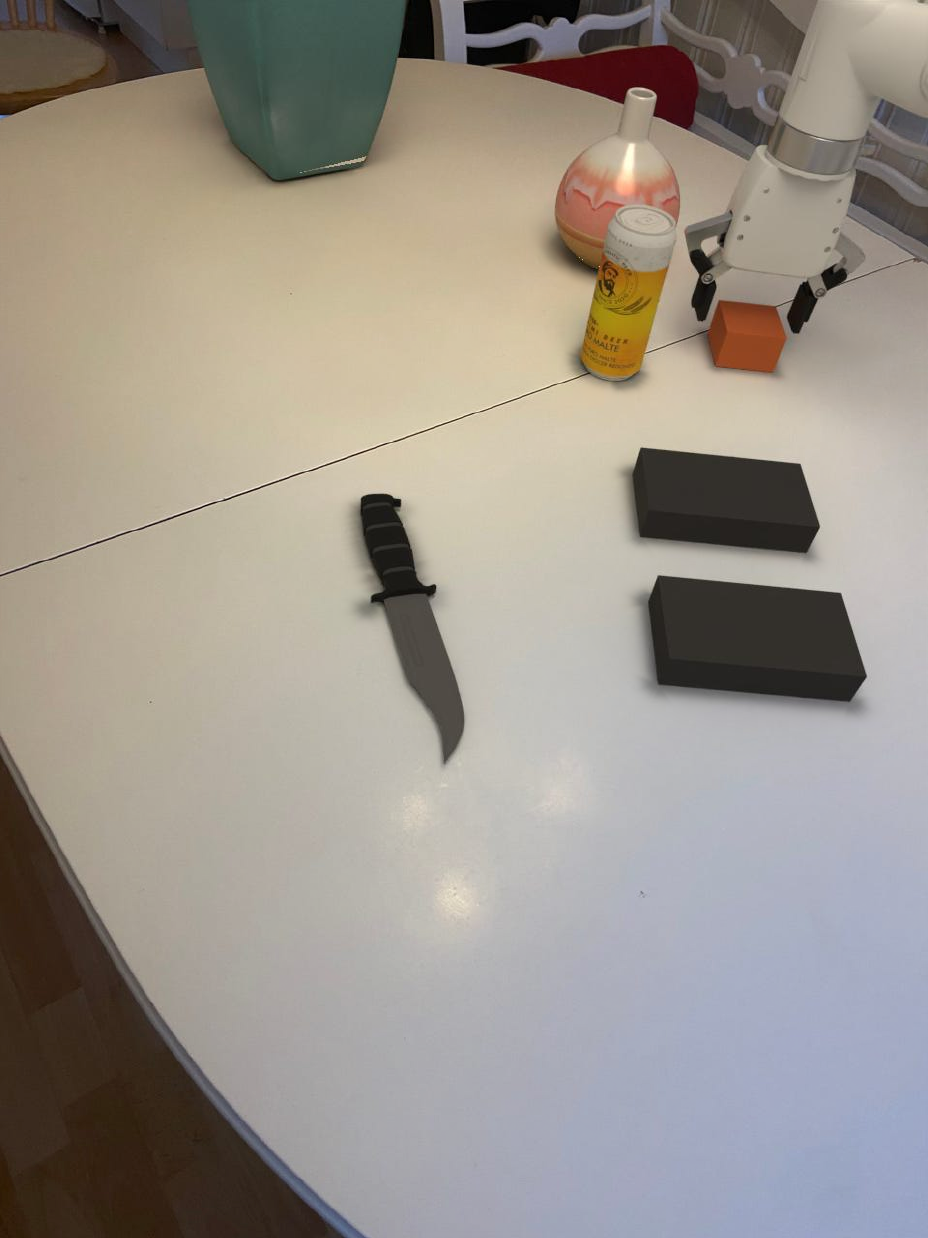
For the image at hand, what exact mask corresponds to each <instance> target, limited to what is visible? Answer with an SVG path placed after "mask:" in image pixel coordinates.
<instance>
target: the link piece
mask: <svg viewBox="0 0 928 1238" xmlns="http://www.w3.org/2000/svg"><path fill="white" fill-rule="evenodd" d="M707 338H708V341H709V347H710V350H711V354H712V358H713V362H714V366H715V367H717V368H728V369H737V370H746V371H756V372H764V373H765V372H766V373H774V371H775V369H776V366H777V364H778V361H779V358H780V356H781V355H782V351H783V348H784V346H785V345H786V344H785V343H786V342H787V339H788V337H787V335H786V332H785V329H784V326H783V323H782V320H781V317H780V314H779V311H778V308H777V306H775V305H771V304H770V305H769V304H760V303H750V302H741V301H733V300H726V299H725V300H723V299H718V302H717V303H716V307H715V310H714V313H713V316H712V319H711V322H710V325H709V329H708V331H707Z"/></svg>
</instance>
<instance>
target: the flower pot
mask: <svg viewBox="0 0 928 1238" xmlns="http://www.w3.org/2000/svg"><path fill="white" fill-rule="evenodd" d="M185 2H186V9H187V12H188V16H189V20H190V21H189V22H190V25H191V28H192V32H193V36H194V40H195V44H196V47H197V50H198V55H199V58H200V61H201V64H202V67H203V71H204V73H205V76H206V79H207V82H208V85H209V89H210V91H211V94H212V96H213V99H214V102H215V104H216V107H217V110H218V112H219V115H220V118H221V120H222V122H223V125H224V127H225V130H226V132H227V135H228V137H229V138H230V141H231V143H233V145H235V146H236V147H237V148H238V149H239V150H240V151H241V152H242V153H244V154H245V155H246V157H248V159H250V160H251V161H252V162H254V163H255V164H256V165H257V166H258V167H259V168H260V169H261V170H262V171H264V172H265V173H266V174H267V175H268V176H270V178H271V179H273V180H276V181H282V180H283V181H284V180H289V179H295V178H300V177H306V176H307V177H308V176H312V175H313V176H314V175H319V174H323V173H330V172H335V171H340V170H348V169H353V168H357V167H362V166H363V165H364V164H365V161H366V159H365V160H364V161H361V162H356V163H351V164H345V165H340V166H334V167H329V168H323V169H318V170H312V169H316V168H320V167H325V166H329V165H334V164H338V163H341V162H345V161H350V160H354V159H358V158H362V157H365V156H367V157H368V154H369V152H370V151H371V148H372V145H373V143H374V140H375V137H376V136H377V132H378V130H379V127H380V125H381V122H382V119H383V116H384V112H385V110H386V105H387V102H388V99H389V95H390V92H391V88H392V84H393V80H394V77H395V73H396V67H397V63H398V59H399V53H400V49H401V48H400V47H401V42H402V37H403V36H402V35H403V29H404V21H405V15H406V14H405V12H406V5H407V4H406V3H407V0H185ZM308 170H312V171H308ZM304 171H307V172H304ZM300 172H302V173H300Z"/></svg>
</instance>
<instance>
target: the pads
mask: <svg viewBox="0 0 928 1238" xmlns="http://www.w3.org/2000/svg"><path fill="white" fill-rule="evenodd" d="M633 467H634V468H633V471H632V480H633V481H632V482H633V489H634V497H635V498H634V499H635V505H636V506H635V507H636V514H637V523H638V529H639V537H640V538H649V539H660V540H668V541H669V540H671V541H680V542H692V543H701V544H710V545H719V546H720V545H721V546H731V547H740V548H741V547H742V548H751V549H761V550H762V549H763V550H773V551H782V552H793V553H802V554H807V553H808V552H809V550H810V548H811V545H812V543H813V542H814V540H815V538H816V536H817V534H818V532H819V530H820V529H821V524H820V521H819V519H818V515H817V512H816V508H815V505H814V503H813V498H812V496H811V492H810V490H809V489H810V488H809V485H808V483H807V480H806V477H805V473H804V471H803V467H802V464H801V463H798V462H790V461H789V462H787V461H777V460H769V459H758V458H748V457H740V456H730V455H720V454H711V453H702V452H701V453H700V452H690V451H683V450H682V451H680V450H671V449H662V448H661V449H660V448H651V447H650V448H649V447H644V446H643V447H640V448H639V450H638V454H637V458H636V461H635V464H634V466H633ZM656 576H657V577H656V578H655V582H654V585H653V587H652V590H651V593H650V596H649V598H648V600H647V601H648V603H647V604H648V611H649V612H648V613H649V619H650V629H651V635H652V636H651V637H652V643H653V645H652V646H653V651H654V659H655V668H656V677H657V685H662V686H672V687H683V688H692V689H693V688H694V689H704V690H705V689H706V690H717V691H729V692H736V693H737V692H738V693H747V694H750V693H751V694H761V695H770V696H771V695H772V696H782V697H794V698H803V699H804V698H805V699H815V700H825V701H826V700H827V701H837V702H847V703H848V702H849V703H850V702H851V701H852V699H853V698H854V697H855V695H856V694H857V692H858V690H859V689H860V688H861V687H862V685H863V683H864V682H865V681H866V679H867V678H868V675H867V671H866V668H865V665H864V662H863V659H862V656H861V652H860V649H859V646H858V643H857V640H856V636H855V633H854V629H853V626H852V624H851V620H850V617H849V614H848V610H847V608H846V604H845V601H844V598H843V595H842V592H837V591H827V590H817V589H816V590H815V589H805V588H796V587H785V586H775V585H774V586H773V585H765V584H754V583H744V582H733V581H724V580H722V581H721V580H712V579H701V578H693V577H681V576H671V575H660V574H658V575H656Z"/></svg>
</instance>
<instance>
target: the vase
mask: <svg viewBox="0 0 928 1238" xmlns="http://www.w3.org/2000/svg"><path fill="white" fill-rule="evenodd" d="M657 98H658V95H657V94H656V92H654V91H653V90H651V89H648V88H645V87H631V88H629V89H628V90H627V91H626V95H625V98H624V103H623V108H622V112H621V116H620V121H619V124H618V129H617V132H616V133H613V134H611V135H610V136H607V137H604V138H603V139H600V140H598V141H597V142H595V143H593V144H592V145H590V146H589V147H587V148H586V149H584V150H583V151H582V152H581V153H580V154H579V155H577V157H576V158H575V159H573V161H572V162H571V163H570V165H569V166H568V168H567V169H566V171H565V172H564V174H563V176H562V178H561V180H560V183H559V185H558V187H557V191H556V194H555V195H556V196H555V200H554V201H555V202H554V219H555V225H556V228H557V231H558V233H559V235H560V237H561V239H562V240H563V242H564V243H565V245H566V246H567V247H568V249H570V251H571V252H573V253H574V255H575V256H576V258H577V259H578V260H579V261H580V262H582V263H583V264H585V265H586V266H588V267H590V268H592V269H596V270H598V271H599V266H600V262H601V257H602V253H603V248H604V244H605V239H606V234H607V230H608V225H609V222H610V221H611V220H612V219H613V217H614V216H615V214H616V211H617V210H618V209H619V208H621V207H623V206H627V205H647V206H652V207H655V208H658V209H661V210H663V211H665V212H667V213H668V214H670V215H671V216H672V217H673V218H674V220H675V229H676V228H677V226H678V225H677V224H678V222H679V217H680V210H681V193H680V186H679V182H678V178H677V176H676V174H675V171H674V168H673V167H672V165H671V163H670V161H669V160H668V159H667V157H666V156H665V155H664V153H662V151H661V150H660V149H659V148H658V147H657V146H656V144H654V143H653V142H652V141H651V139H650V133H651V126H652V124H653V123H652V122H653V118H654V113H655V109H656V104H657ZM579 257H580V258H579ZM582 259H583V260H582Z"/></svg>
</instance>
